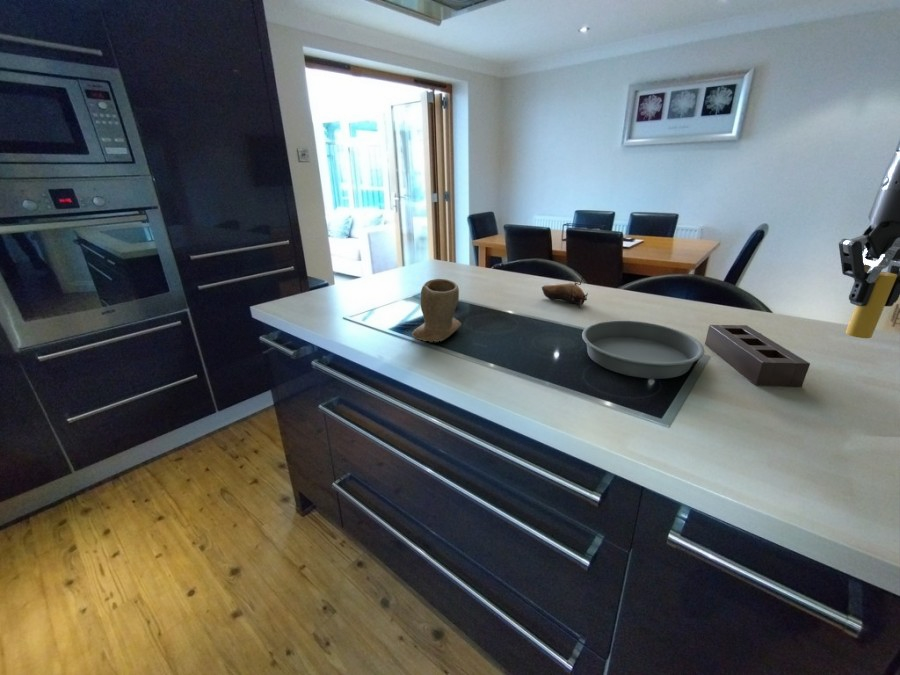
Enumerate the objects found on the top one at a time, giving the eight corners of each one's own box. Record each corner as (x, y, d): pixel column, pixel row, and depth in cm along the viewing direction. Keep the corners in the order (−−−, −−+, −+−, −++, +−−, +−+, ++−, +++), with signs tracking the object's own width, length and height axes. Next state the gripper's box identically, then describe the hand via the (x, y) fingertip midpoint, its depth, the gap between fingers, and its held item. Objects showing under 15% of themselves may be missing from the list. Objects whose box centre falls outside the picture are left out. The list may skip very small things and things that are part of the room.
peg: (860, 331, 64) (885, 271, 60) (876, 338, 61) (903, 275, 57) (840, 331, 64) (863, 271, 60) (855, 338, 61) (880, 275, 57)
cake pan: (656, 396, 73) (660, 375, 71) (557, 351, 92) (559, 334, 90) (723, 362, 84) (728, 343, 83) (623, 329, 104) (625, 313, 102)
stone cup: (446, 349, 95) (444, 290, 90) (406, 341, 101) (401, 285, 95) (472, 328, 108) (472, 275, 102) (435, 322, 113) (433, 271, 107)
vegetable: (530, 294, 126) (539, 265, 125) (541, 302, 135) (550, 275, 135) (578, 305, 117) (588, 274, 117) (586, 313, 126) (596, 283, 126)
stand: (741, 344, 93) (746, 325, 91) (802, 386, 74) (810, 363, 72) (704, 344, 94) (709, 324, 92) (755, 385, 75) (762, 362, 73)
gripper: (886, 188, 51) (839, 312, 58) (1009, 185, 50) (947, 313, 56) (840, 186, 58) (803, 297, 65) (947, 184, 56) (898, 298, 63)
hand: (870, 304), depth 60 cm, fingers closed on peg, 3 cm apart
